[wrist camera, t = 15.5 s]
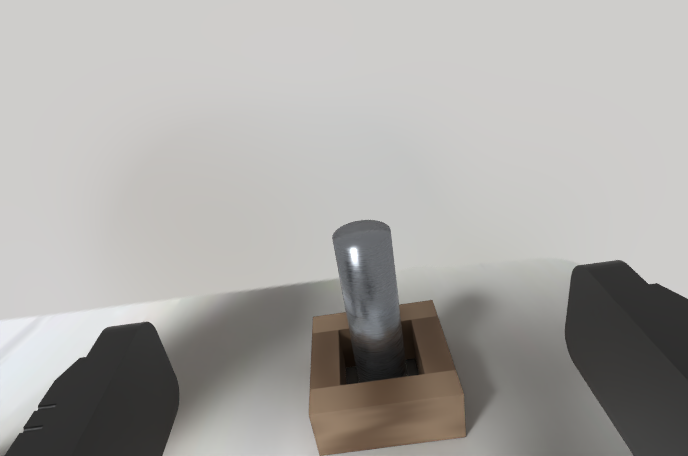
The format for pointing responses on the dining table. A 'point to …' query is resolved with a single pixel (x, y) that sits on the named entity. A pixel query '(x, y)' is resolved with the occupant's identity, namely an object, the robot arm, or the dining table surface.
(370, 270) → the rod
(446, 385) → the wooden square socket block
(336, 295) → the dining table surface
